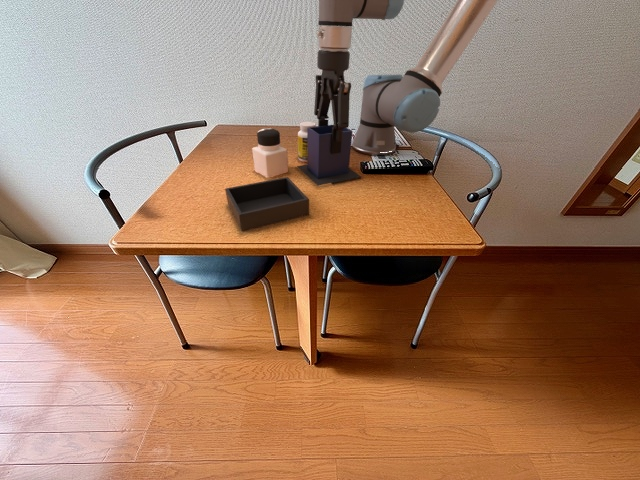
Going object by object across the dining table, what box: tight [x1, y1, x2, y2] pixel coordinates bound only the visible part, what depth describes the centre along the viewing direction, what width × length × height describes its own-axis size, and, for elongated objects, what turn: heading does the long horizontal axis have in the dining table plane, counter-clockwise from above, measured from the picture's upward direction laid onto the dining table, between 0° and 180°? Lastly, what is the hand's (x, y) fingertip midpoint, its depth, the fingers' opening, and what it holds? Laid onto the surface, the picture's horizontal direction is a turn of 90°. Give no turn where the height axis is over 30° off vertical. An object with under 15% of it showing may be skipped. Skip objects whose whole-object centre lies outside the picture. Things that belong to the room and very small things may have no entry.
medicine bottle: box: [251, 127, 289, 179], centre depth 80 cm, size 7×7×12 cm
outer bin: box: [224, 176, 310, 232], centre depth 65 cm, size 15×12×5 cm
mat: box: [296, 164, 362, 186], centre depth 84 cm, size 14×14×1 cm
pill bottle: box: [297, 121, 317, 163], centre depth 89 cm, size 6×6×11 cm
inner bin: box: [306, 124, 353, 179], centre depth 80 cm, size 10×7×12 cm
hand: (328, 148), depth 80 cm, fingers closed on inner bin, 7 cm apart
